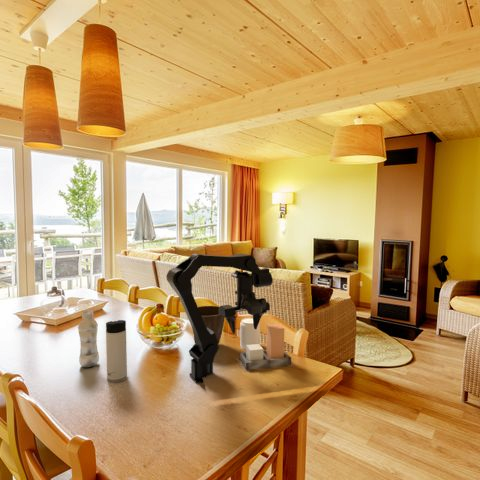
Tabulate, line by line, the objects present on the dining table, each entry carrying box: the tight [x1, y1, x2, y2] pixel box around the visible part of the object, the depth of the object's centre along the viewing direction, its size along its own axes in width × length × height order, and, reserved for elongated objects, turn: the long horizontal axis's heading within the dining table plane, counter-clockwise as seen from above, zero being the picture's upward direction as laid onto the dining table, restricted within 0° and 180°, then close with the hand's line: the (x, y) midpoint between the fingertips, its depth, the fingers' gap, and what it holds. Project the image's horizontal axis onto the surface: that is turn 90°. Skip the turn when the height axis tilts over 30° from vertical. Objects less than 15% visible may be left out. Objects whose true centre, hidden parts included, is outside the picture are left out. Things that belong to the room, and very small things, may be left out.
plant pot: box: [191, 305, 226, 345], centre depth 136 cm, size 15×15×16 cm
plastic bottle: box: [77, 309, 100, 368], centre depth 120 cm, size 6×7×20 cm
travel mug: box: [105, 319, 128, 384], centre depth 110 cm, size 6×7×20 cm
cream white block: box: [245, 344, 264, 361], centre depth 121 cm, size 5×5×6 cm
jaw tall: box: [266, 323, 285, 359], centre depth 122 cm, size 5×5×13 cm
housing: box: [236, 349, 295, 373], centre depth 122 cm, size 19×11×4 cm, turn 105°
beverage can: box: [239, 317, 261, 351], centre depth 136 cm, size 8×8×12 cm
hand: (244, 331), depth 120 cm, fingers open, 9 cm apart
